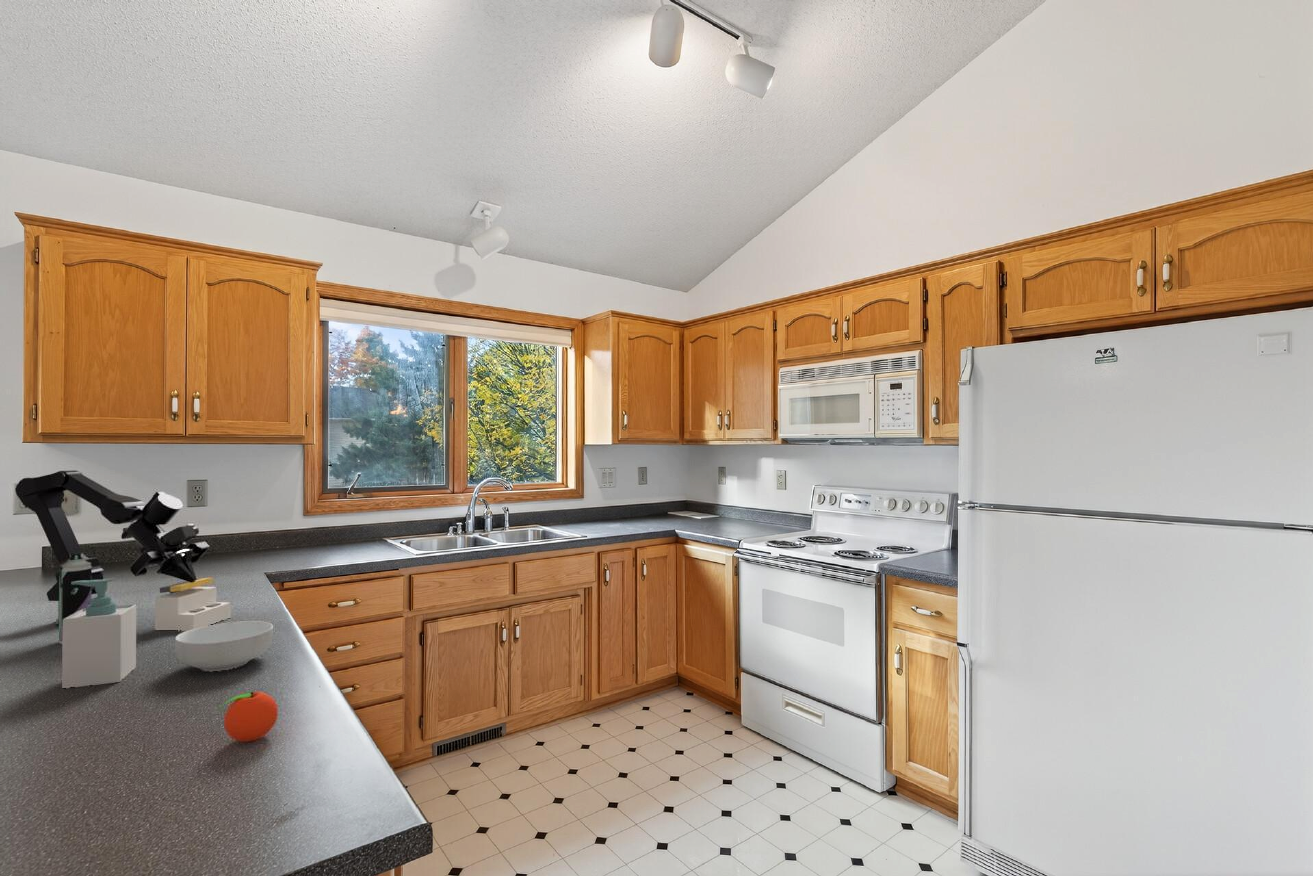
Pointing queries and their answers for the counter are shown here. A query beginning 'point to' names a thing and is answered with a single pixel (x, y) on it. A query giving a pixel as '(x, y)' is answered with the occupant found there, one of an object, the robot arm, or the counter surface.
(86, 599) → the spray can
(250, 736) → the clementine
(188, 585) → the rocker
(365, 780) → the counter surface
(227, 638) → the cereal bowl
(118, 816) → the counter surface
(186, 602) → the stepped slotted block
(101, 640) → the soap bottle
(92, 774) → the counter surface
